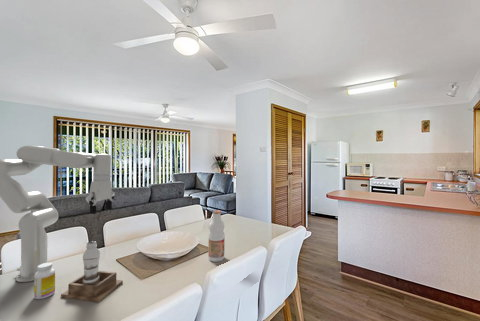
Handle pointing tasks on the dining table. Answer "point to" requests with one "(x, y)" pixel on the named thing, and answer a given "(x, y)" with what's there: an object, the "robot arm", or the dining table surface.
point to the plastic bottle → (91, 264)
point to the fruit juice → (216, 238)
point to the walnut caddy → (92, 288)
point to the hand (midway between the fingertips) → (101, 211)
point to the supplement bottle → (44, 281)
